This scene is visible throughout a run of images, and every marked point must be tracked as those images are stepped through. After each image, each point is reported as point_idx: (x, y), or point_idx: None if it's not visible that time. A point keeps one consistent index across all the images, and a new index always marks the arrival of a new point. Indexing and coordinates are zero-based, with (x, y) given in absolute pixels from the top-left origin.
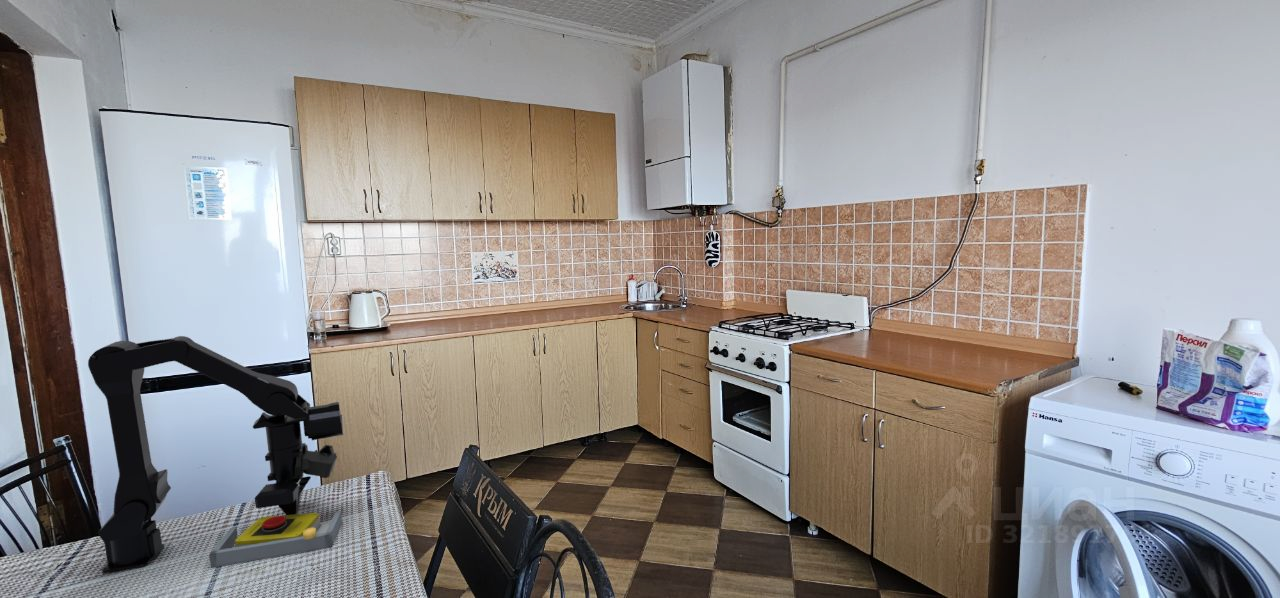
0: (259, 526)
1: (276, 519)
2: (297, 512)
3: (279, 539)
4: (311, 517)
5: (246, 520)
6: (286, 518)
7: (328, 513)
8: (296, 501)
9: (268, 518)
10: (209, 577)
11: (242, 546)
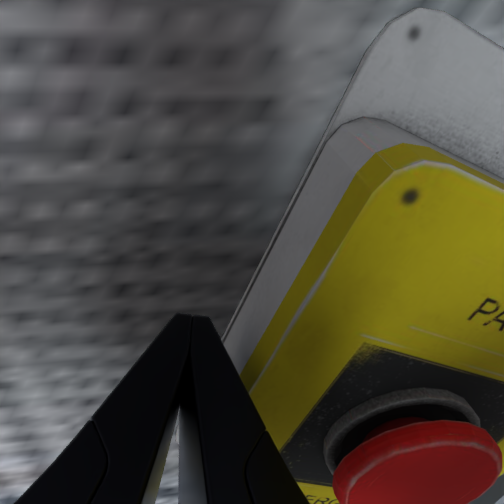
0: (321, 491)
1: (415, 482)
2: (179, 334)
3: None
4: (464, 229)
5: (35, 479)
6: (313, 400)
7: (111, 42)
8: (292, 485)
9: None
10: None
11: (499, 501)
